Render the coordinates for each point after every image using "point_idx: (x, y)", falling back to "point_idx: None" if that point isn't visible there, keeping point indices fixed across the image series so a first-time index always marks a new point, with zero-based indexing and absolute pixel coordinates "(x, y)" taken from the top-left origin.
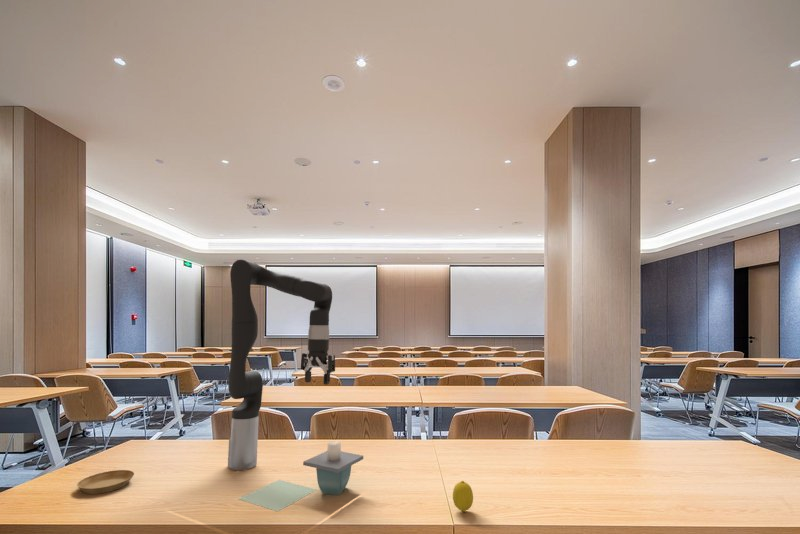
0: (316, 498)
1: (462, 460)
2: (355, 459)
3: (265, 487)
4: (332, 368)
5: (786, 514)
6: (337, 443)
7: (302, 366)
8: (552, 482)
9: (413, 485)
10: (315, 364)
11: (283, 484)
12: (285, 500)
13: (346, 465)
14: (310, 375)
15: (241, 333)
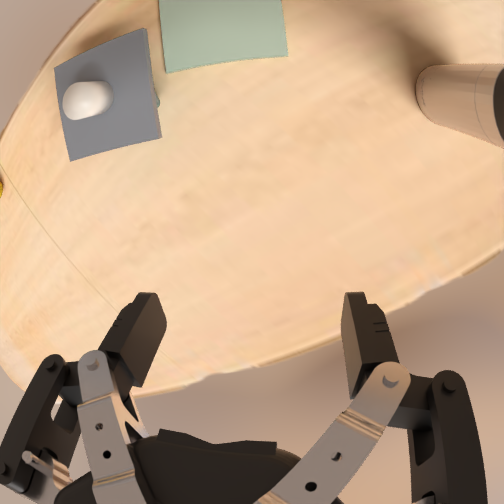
0: None
1: (100, 326)
2: (64, 131)
3: (275, 12)
4: (65, 401)
5: None
6: (71, 108)
7: (446, 403)
8: (16, 300)
9: (70, 211)
10: (213, 457)
11: (253, 43)
12: (180, 4)
13: (59, 96)
14: (348, 364)
15: None
